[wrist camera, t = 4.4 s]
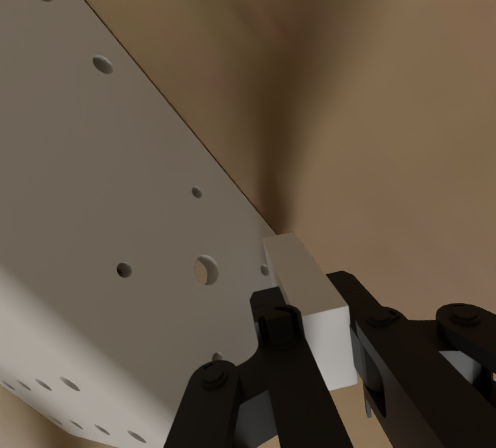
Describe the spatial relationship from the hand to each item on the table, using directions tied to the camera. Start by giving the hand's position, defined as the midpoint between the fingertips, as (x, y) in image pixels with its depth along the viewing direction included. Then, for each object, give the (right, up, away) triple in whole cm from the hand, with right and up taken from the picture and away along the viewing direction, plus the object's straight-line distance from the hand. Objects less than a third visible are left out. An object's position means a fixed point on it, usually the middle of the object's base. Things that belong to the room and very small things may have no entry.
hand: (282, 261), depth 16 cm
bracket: (-12, +2, +1) cm, 12 cm away
